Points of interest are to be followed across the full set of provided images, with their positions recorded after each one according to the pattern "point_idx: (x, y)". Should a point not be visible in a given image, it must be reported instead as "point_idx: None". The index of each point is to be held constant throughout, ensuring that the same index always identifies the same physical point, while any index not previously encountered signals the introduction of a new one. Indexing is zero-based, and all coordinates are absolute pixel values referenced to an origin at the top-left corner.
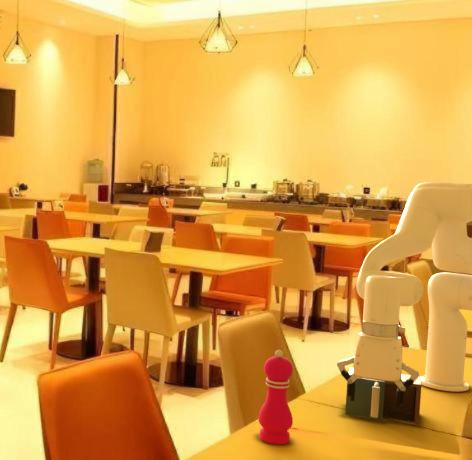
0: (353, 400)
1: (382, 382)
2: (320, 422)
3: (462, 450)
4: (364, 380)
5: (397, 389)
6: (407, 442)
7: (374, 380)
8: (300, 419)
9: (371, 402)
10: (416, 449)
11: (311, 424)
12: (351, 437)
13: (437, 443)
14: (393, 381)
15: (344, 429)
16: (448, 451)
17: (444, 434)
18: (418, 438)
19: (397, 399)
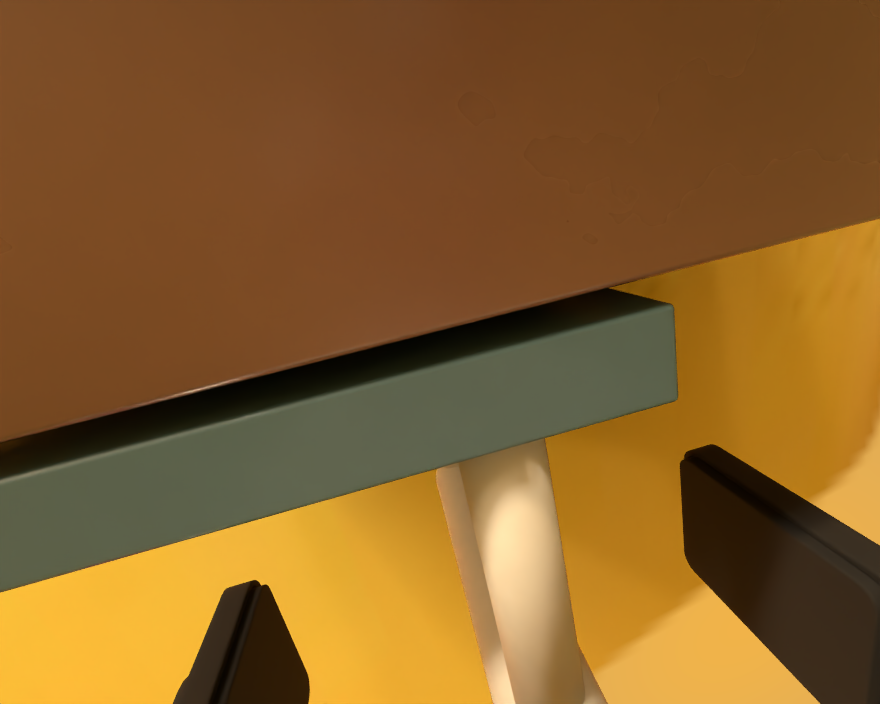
0: (304, 683)
1: (620, 402)
2: (138, 567)
3: (872, 434)
4: (234, 509)
5: (872, 680)
6: (643, 515)
7: (458, 462)
8: (3, 609)
9: (459, 571)
10: (684, 571)
11: (118, 635)
12: (392, 648)
13: (775, 422)
14: (861, 217)
15: (314, 572)
16: (811, 493)
17: (823, 234)
18: (689, 416)
19: (760, 630)
